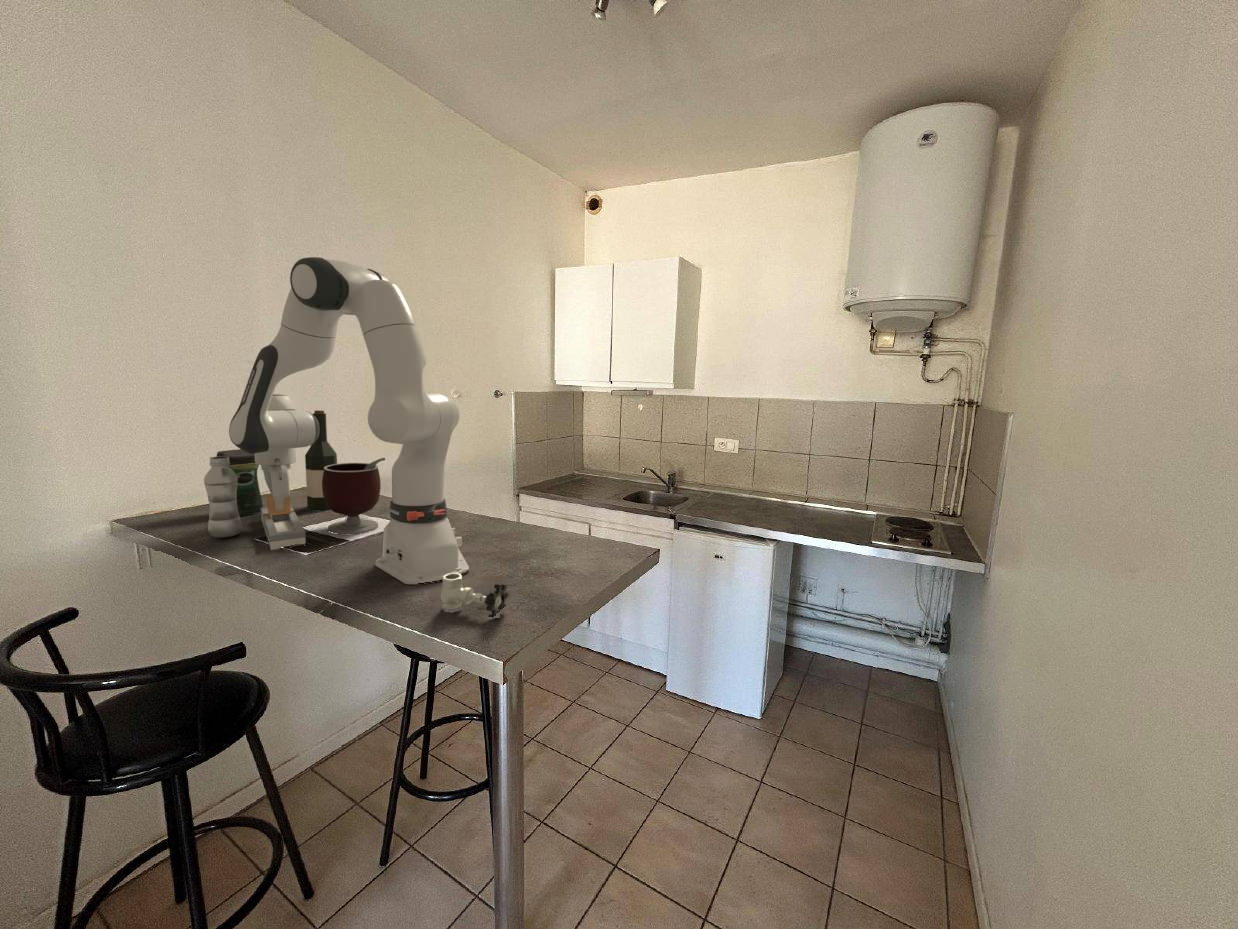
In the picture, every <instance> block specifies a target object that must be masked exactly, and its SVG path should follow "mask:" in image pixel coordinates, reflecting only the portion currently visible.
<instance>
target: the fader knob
mask: <svg viewBox="0 0 1238 929" xmlns="http://www.w3.org/2000/svg"><path fill="white" fill-rule="evenodd" d="M290 498H291V494H290V495H289V497H287V498H284V501H283V509H281V510H276V509H275V503H274V498H273V497H272V495H271V494H270V495H269V494H267V495H266V502H267V507H268V515H269V516H272V520H273V521H283V520H288V518H287V514H291V510H290V505H291V499H290Z"/></svg>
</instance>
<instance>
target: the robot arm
mask: <svg viewBox="0 0 1238 929" xmlns="http://www.w3.org/2000/svg"><path fill="white" fill-rule="evenodd" d="M289 282H290V286H291V287H290V289H289V292H288V294H287V298H286V301H285V302H284V303H285V304H284V307H283V310H282V316H281V322H280V326H279V330H278V332H277V334H276V336H275V337H274V338H273V340H272V341H271V342H270V343H269V344H267V345H266V346H264V347H262V348H261V349H260V351H259V352H258V353H257V356H256V358H255V361H254V363H253V365H252V368H251V371H250V374H249V377H248V380H247V383H246V386H245V388H244V391H243V394H242V397H241V401H240V403H239V405H238V408H237V410H236V411H235V413H234V414H233V417H232V418H231V420H230V424H229V425H228V426H229V427H228V434H229V435H228V436H229V438H230V441H231V442H232V444H233V445H234V446H236V448H238V449H241V450H243V451H245V452H247V453H250V454H254V455H255V464H258V465H259V466H260V468H261V470H262V471H263V472H262V473H263V475H264V476H263V477H264V481H265V484H266V486H267V488H268V490H269V492H270V495H272V497H273V498H274V503H275V509H276V510H281V509H283V501H284V498H287V497H289V495H290V496H291V494H290V478H289V470H290V469H291V464H295V463H296V462H297V461H296V457H297V456H296V449H298V448H299V449H300V448H306V447H311V445H313V444H314V443H315V442H316V440H317V439H318V436H319V433H320V427H319V422H318V420H317V419H316V417H315V416H314V415H313V413H311V412H310V411H308V410H304V409H301V408H300V407H298V406H297V405H295V403H293V401H292V399H291V397H289V396H288V395H285V394H274V392H275V391H276V387H277V385H278V384H279V383H280V381H282V380H283V379H285V378H286V377H288V376H290V375H293V374H295V373H299V372H302V371H306V370H309V369H314V368H316V367H318V366H320V365H323V363H325V362H326V361H327V360H329V359H330V357H331V356H332V354H333V351H334V350H335V343H336V339H337V332H338V325H339V321H340V318H341V317H342V316H344V315H347V316H355V317H356V318H357V321H358V322H359V327H360V329H361V334H362V336H363V340H364V343H365V345H366V349H367V352H368V355H369V357H370V362H371V366H372V369H373V374H374V386H375V388H374V399H373V402H372V403H371V405H370V406H369V409H368V411H367V424H368V426H369V429H370V431H371V433H372V434H373V435H374V436H375V437H376V438H378V439H379V440H380V441H383V442H385V443H389V444H396V445H402V446H401V449H400V453H399V454H398V457H397V459H396V460H395V462H393V465H392V468H391V492H392V493H391V498H392V499H391V501H390V505H389V516H390V520H389V522H388V524H386V526H384V528H383V535H382V536H383V537H382V538H383V539H382V541H383V542H382V556H381V557H379V558H378V559H376V560H375V563H374V564H375V567H377V568H378V569H380V570H382V571H383V572H385V573H387V575H390V576H392V577H393V578H395V579H396V580H399V581H400V582H401V583H403V584H405V585H419V584H418V583H424V582H431V583H433V582H432V581H436V580H440V579H443V576H444V575H446V574H449V573H459V574H462V573H463V572H466V571H467V570H469V571H470V566H469V565H468V562H467V561H466V559H465V558H464V556H463V554H462V552H461V551H460V549H459V547H462V546H463V538H462V536H455V534H456V528H455V527H452V526H451V523H450V518H449V519H448V510H447V509H448V506H447V502H446V499H445V497H444V495H445V490H444V489H445V486H444V485H445V467H446V466H445V465H446V464H445V463H446V460H447V456H448V450H449V447H450V443H451V439H452V435H453V433H454V430H455V429H456V427H457V426H458V424H459V422H460V410H459V407H458V406H457V404H456V402H455V401H454V399H452V398H450V397H449V396H447V395H444V394H443V393H442V394H441V393H440V392H439V393H438V392H436V391H425V388H424V378H423V377H424V375H423V373H424V368H425V366H426V364H427V357H426V354H425V350H424V347H423V344H422V341H421V338H420V335H419V332H418V329H417V326H416V322H415V320H414V316H413V313H412V312H411V310H410V308H409V305H408V303H407V301H406V299H405V296H404V295H403V293H402V291H401V289H400V288H399V287H398V285H397V284H395V283H394V282H392V281H389V280H388V278H387V277H386V276H384V275H382V273H380V272H378V271H376V270H374V269H371V268H364V267H361V266H358V265H355V264H352V263H349V262H347V261H343V260H342V261H341V260H335V259H326V258H323V257H317V256H316V257H315V256H313V257H311V256H310V257H304V258H303V257H302V258H300V259H298V260H297V261H295V263H294V264H293V266H292V268H291V272H290V276H289ZM424 584H425V583H424Z"/></svg>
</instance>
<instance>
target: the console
mask: <svg viewBox="0 0 1238 929" xmlns="http://www.w3.org/2000/svg"><path fill="white" fill-rule="evenodd" d="M290 510H291V514H287V518H288V520H283V521H273V520H272V516H269V515H268V506H267V507H263V508H261V511H260V514H261V515H260V517H261V522H262V526H263V529H264V532H265V535H266V539H267V538H268V539H267V542H268V541H269V543H268V545H270V546H269V548H270V551H274V550H275V551H276V550H279V549H278V548H281V547H284V546H290V545H295V544H305V543H307V542H306V539H307V538H306V531H305V528H304V527H303V525H302V523H301V521H300V519H299V518H298V515H297V514H296V512H295V510H294V508H293V506H292V505H291V504H290Z"/></svg>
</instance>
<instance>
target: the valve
mask: <svg viewBox="0 0 1238 929" xmlns="http://www.w3.org/2000/svg"><path fill="white" fill-rule="evenodd" d="M493 588H494V589H495V590H494V591H493V592H491V591H490V593H488V594H486V595H485V594H484V593H480V592H475V590H474V589H473V587H464V586H463V575H461V574H459V573H449V574H446V575H444V576H443V580H442V588H441V590H440V598H441V601H442V609H443V608H445V609H455V608H458V607H461V605H462V604H463V605H469V604H471V603H473V602H474V603H478V604H483V603H485V604H484V605H485V610H486V611H487V612H491V614H488V617H492V618H493V617H494V616H496V614H497V613H499V612H500V610H501V609H503V608H504V607H505V606H506V607H507V604H506V599H508V598H509V592H506V590H507V588H508V587H507V584H503V583H500V584H499V583H495V585H494V587H493ZM499 595H500V596H499ZM496 607H497V609H496ZM501 611H502V610H501ZM488 617H487V618H488Z"/></svg>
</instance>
